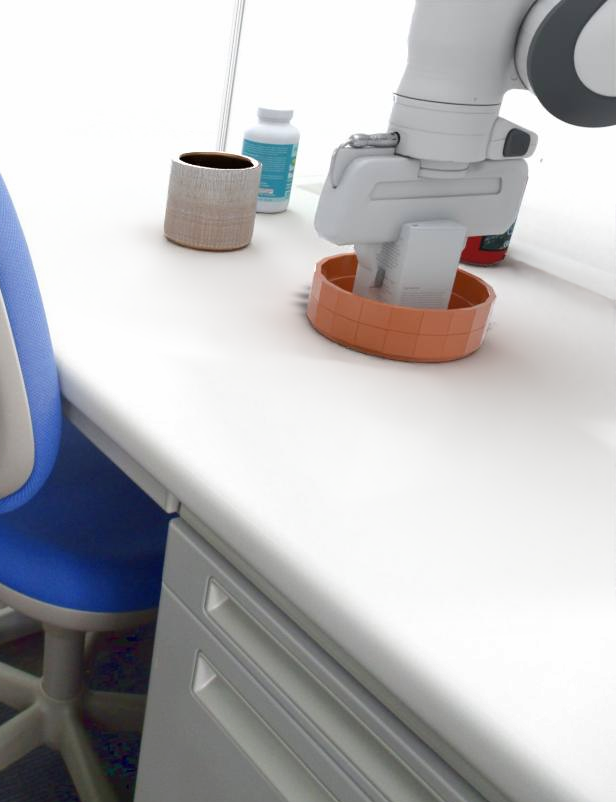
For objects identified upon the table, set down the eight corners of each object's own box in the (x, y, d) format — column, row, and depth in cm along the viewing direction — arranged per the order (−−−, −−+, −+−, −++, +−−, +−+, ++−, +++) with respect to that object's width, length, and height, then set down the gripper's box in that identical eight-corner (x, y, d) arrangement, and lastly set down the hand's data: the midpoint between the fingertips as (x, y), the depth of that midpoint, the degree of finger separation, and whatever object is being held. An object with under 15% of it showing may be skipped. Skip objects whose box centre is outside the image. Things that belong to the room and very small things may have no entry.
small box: (440, 338, 81) (470, 227, 76) (384, 340, 80) (411, 227, 75) (399, 306, 88) (423, 203, 83) (347, 307, 87) (369, 202, 82)
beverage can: (497, 272, 101) (528, 168, 96) (438, 259, 104) (464, 158, 99) (507, 258, 106) (537, 158, 101) (450, 246, 110) (476, 149, 104)
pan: (403, 292, 93) (414, 247, 91) (519, 353, 80) (536, 302, 78) (274, 305, 88) (282, 257, 86) (375, 373, 75) (388, 319, 72)
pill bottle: (294, 215, 119) (311, 112, 113) (241, 213, 118) (256, 110, 112) (279, 201, 126) (294, 103, 119) (228, 199, 125) (242, 101, 119)
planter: (155, 225, 111) (163, 148, 107) (238, 227, 113) (249, 151, 108) (172, 251, 102) (181, 169, 97) (262, 253, 103) (275, 172, 99)
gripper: (360, 141, 69) (328, 304, 76) (554, 137, 76) (509, 286, 83) (315, 126, 75) (288, 280, 81) (500, 123, 81) (461, 265, 88)
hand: (401, 283), depth 82 cm, fingers closed on small box, 6 cm apart
